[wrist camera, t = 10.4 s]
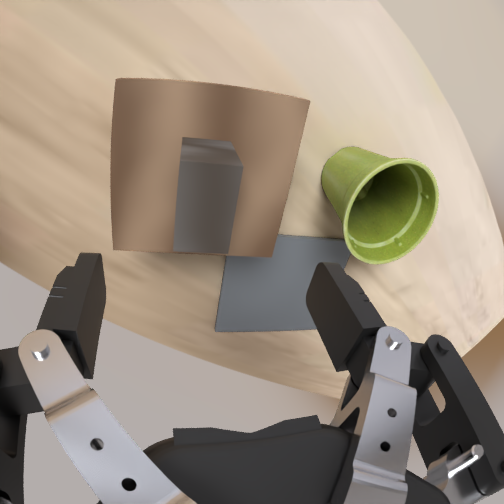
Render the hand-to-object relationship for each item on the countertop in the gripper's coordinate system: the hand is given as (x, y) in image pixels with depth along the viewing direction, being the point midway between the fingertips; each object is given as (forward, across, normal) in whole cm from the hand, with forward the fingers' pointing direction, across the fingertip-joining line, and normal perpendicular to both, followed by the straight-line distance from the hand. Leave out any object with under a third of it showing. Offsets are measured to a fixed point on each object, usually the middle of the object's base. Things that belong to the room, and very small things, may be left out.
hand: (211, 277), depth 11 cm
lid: (+11, 0, 0) cm, 11 cm away
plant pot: (+17, -15, 0) cm, 23 cm away
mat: (+17, -11, +15) cm, 25 cm away
